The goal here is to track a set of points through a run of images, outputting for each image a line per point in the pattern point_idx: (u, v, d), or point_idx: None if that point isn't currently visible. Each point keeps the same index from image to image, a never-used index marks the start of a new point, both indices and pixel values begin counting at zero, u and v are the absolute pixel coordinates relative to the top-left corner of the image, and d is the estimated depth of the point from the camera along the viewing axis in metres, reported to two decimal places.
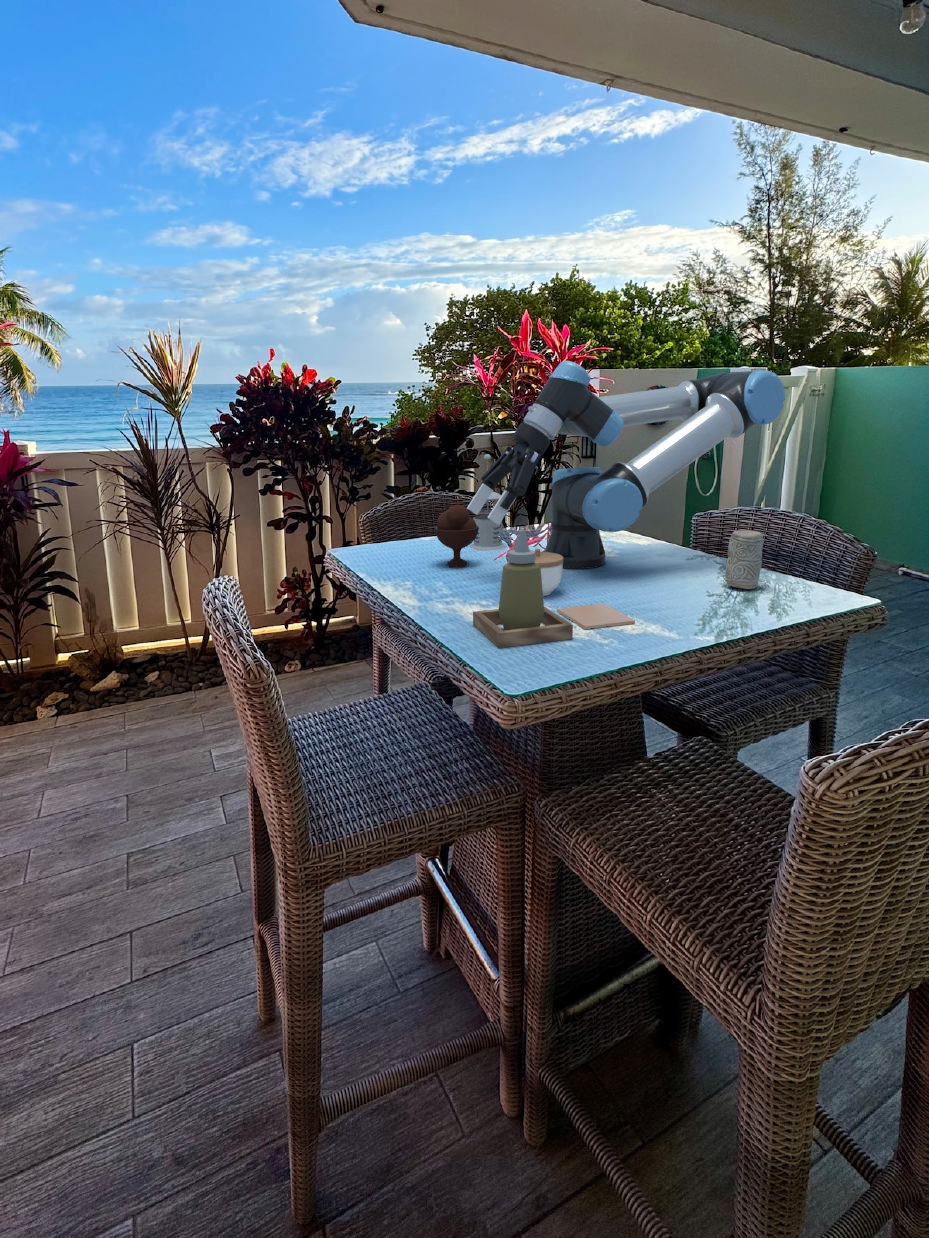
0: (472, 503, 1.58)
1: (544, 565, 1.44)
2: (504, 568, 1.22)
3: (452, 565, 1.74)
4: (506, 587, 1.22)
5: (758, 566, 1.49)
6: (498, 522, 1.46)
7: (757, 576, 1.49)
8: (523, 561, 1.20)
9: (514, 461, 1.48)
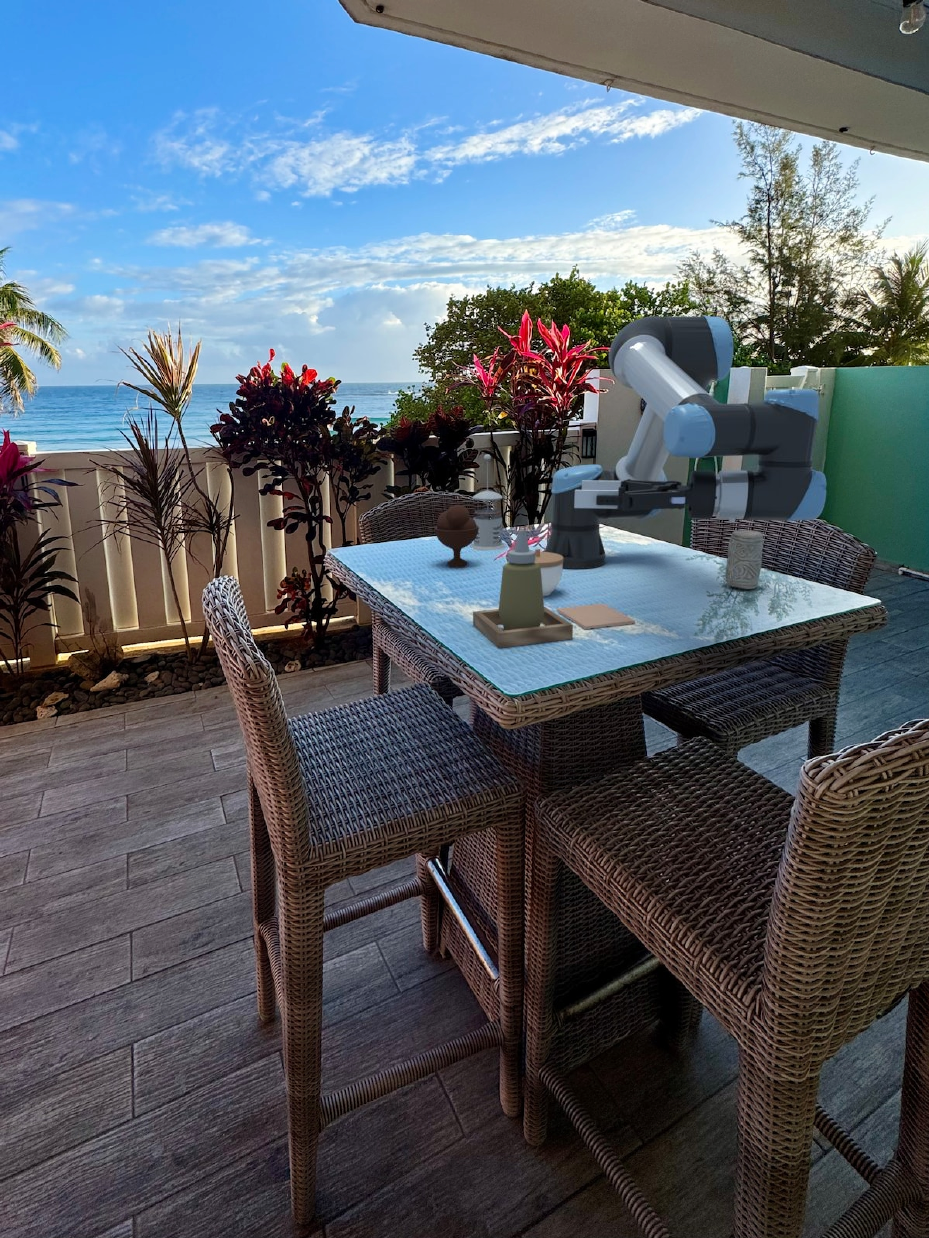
0: None
1: (544, 565, 1.44)
2: (504, 568, 1.22)
3: (452, 565, 1.74)
4: (506, 587, 1.22)
5: (758, 566, 1.49)
6: None
7: (757, 576, 1.49)
8: (523, 561, 1.20)
9: None
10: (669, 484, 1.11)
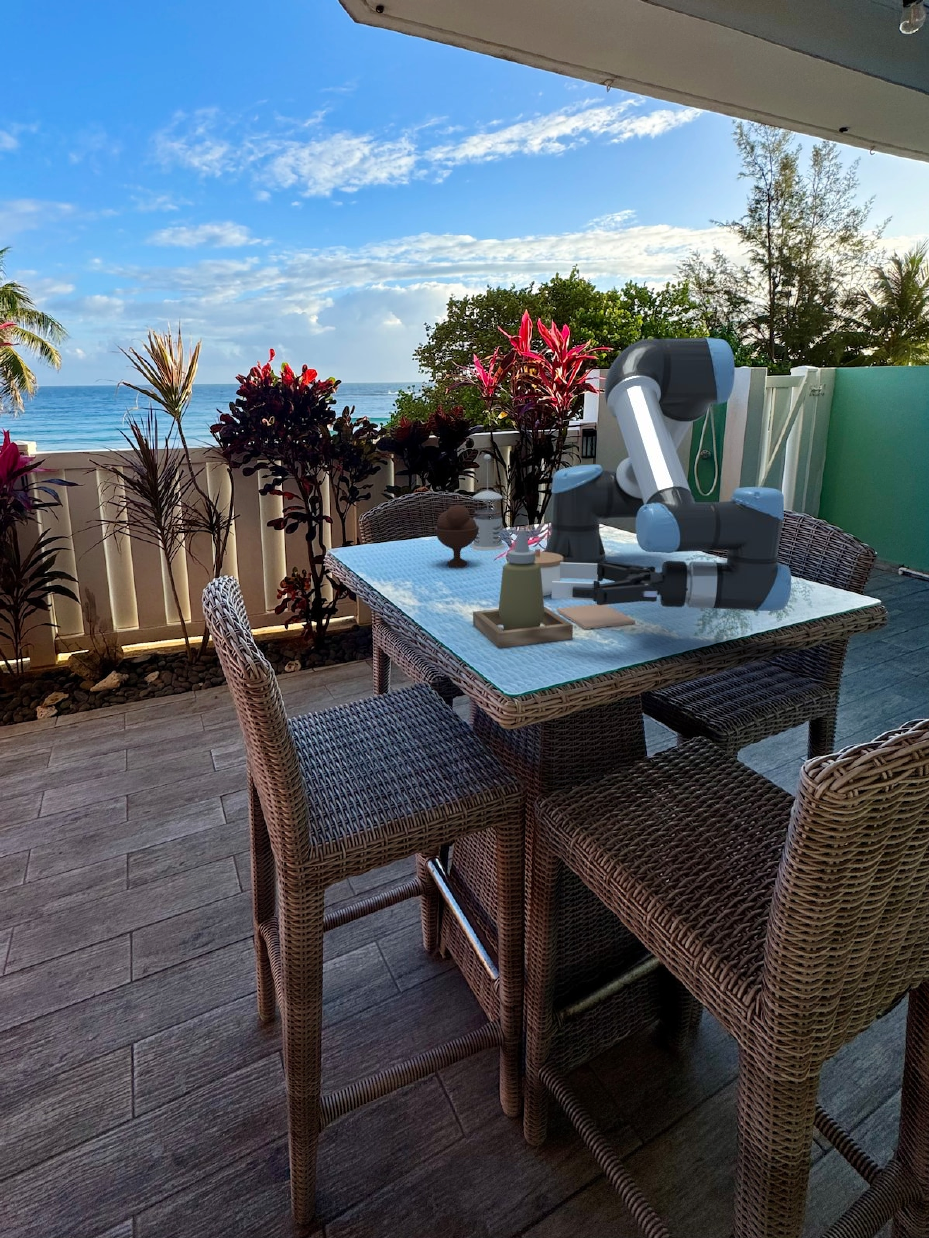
0: None
1: (544, 565, 1.44)
2: (504, 568, 1.22)
3: (452, 565, 1.74)
4: (506, 587, 1.22)
5: None
6: None
7: None
8: (523, 561, 1.20)
9: None
10: (642, 575, 1.16)
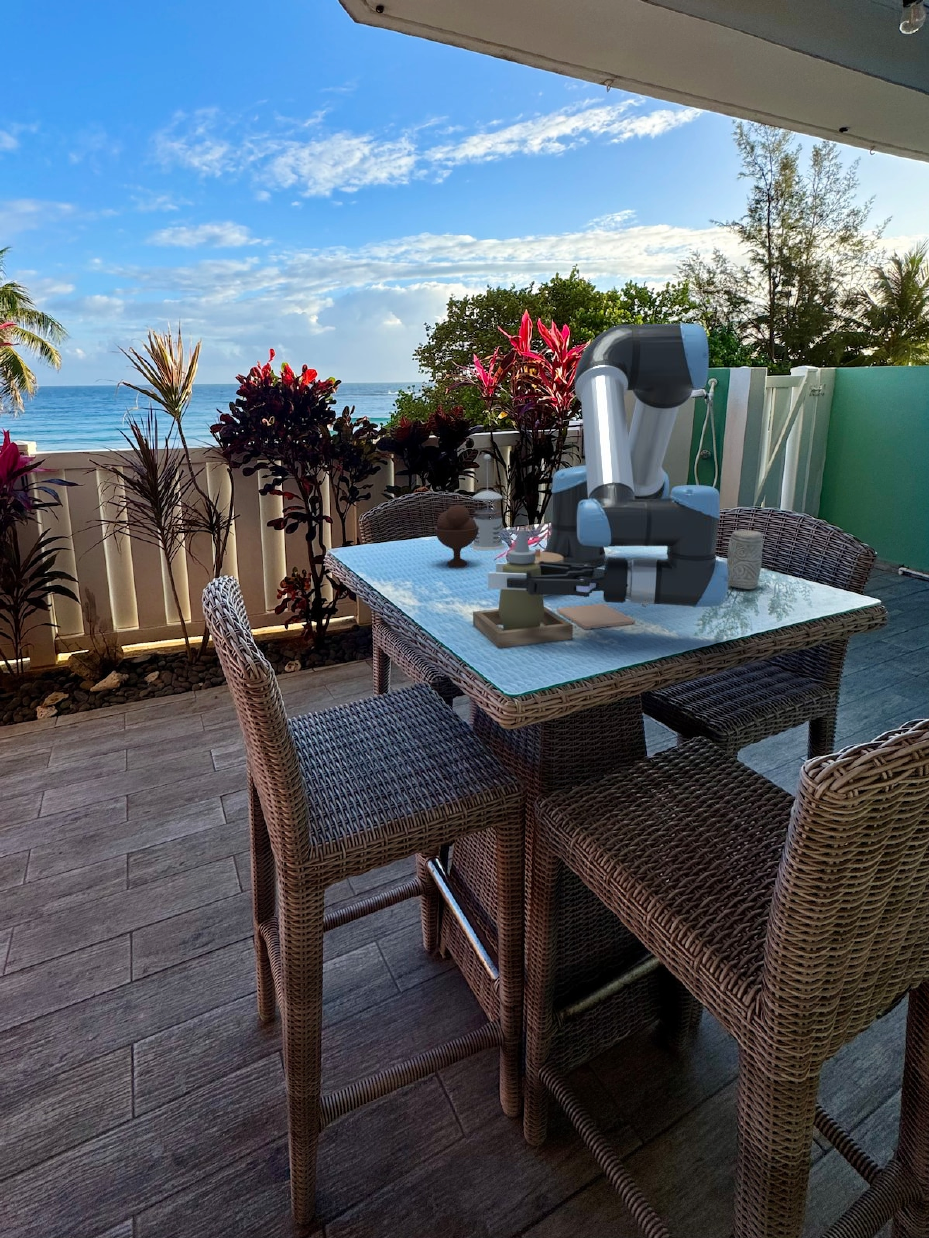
0: None
1: None
2: (504, 568, 1.22)
3: (452, 565, 1.74)
4: None
5: (758, 566, 1.49)
6: None
7: (757, 576, 1.49)
8: (523, 561, 1.20)
9: None
10: (583, 570, 1.19)
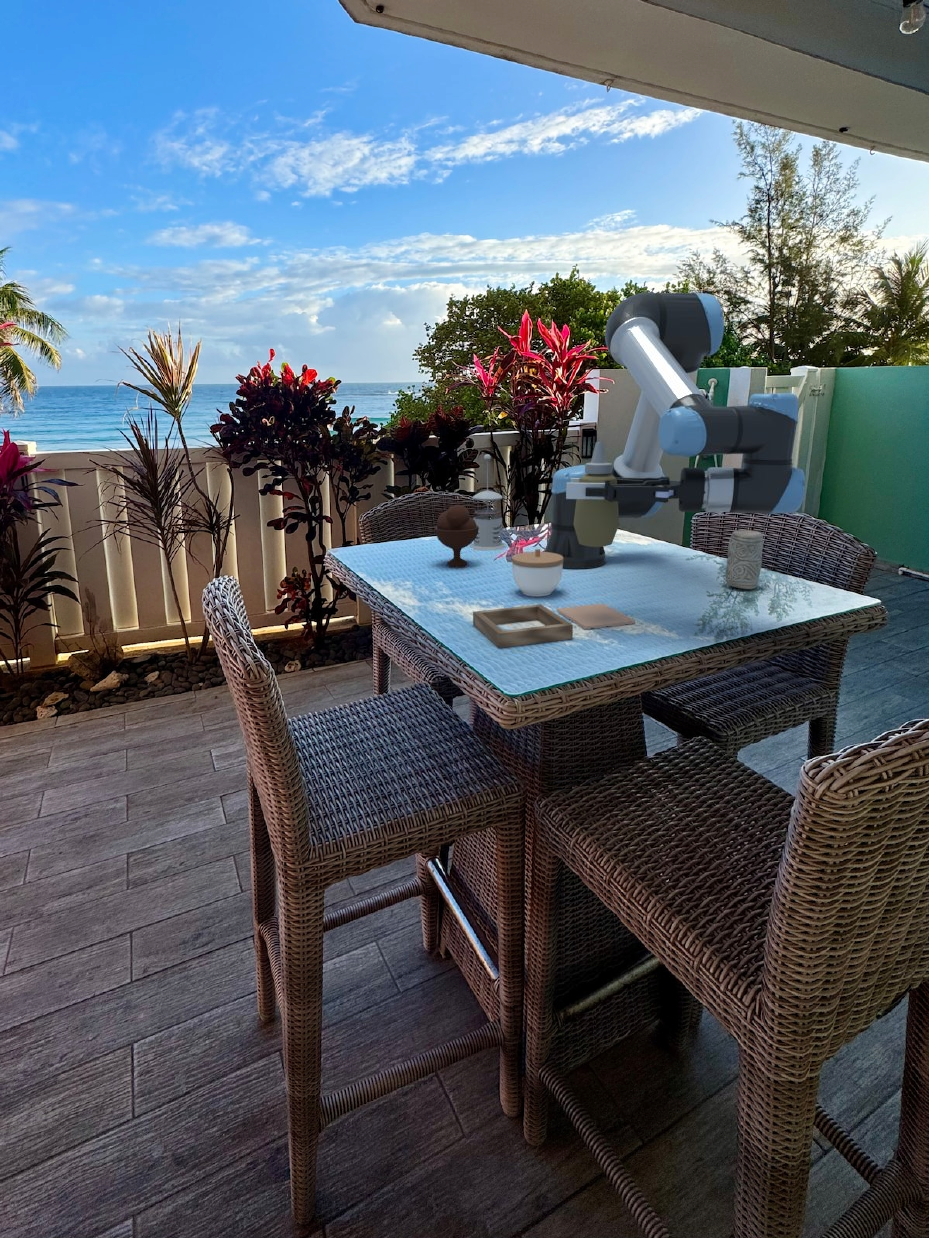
0: None
1: (544, 565, 1.44)
2: (581, 479, 1.25)
3: (452, 565, 1.74)
4: None
5: (758, 566, 1.49)
6: None
7: (757, 576, 1.49)
8: (601, 471, 1.23)
9: None
10: (660, 480, 1.22)
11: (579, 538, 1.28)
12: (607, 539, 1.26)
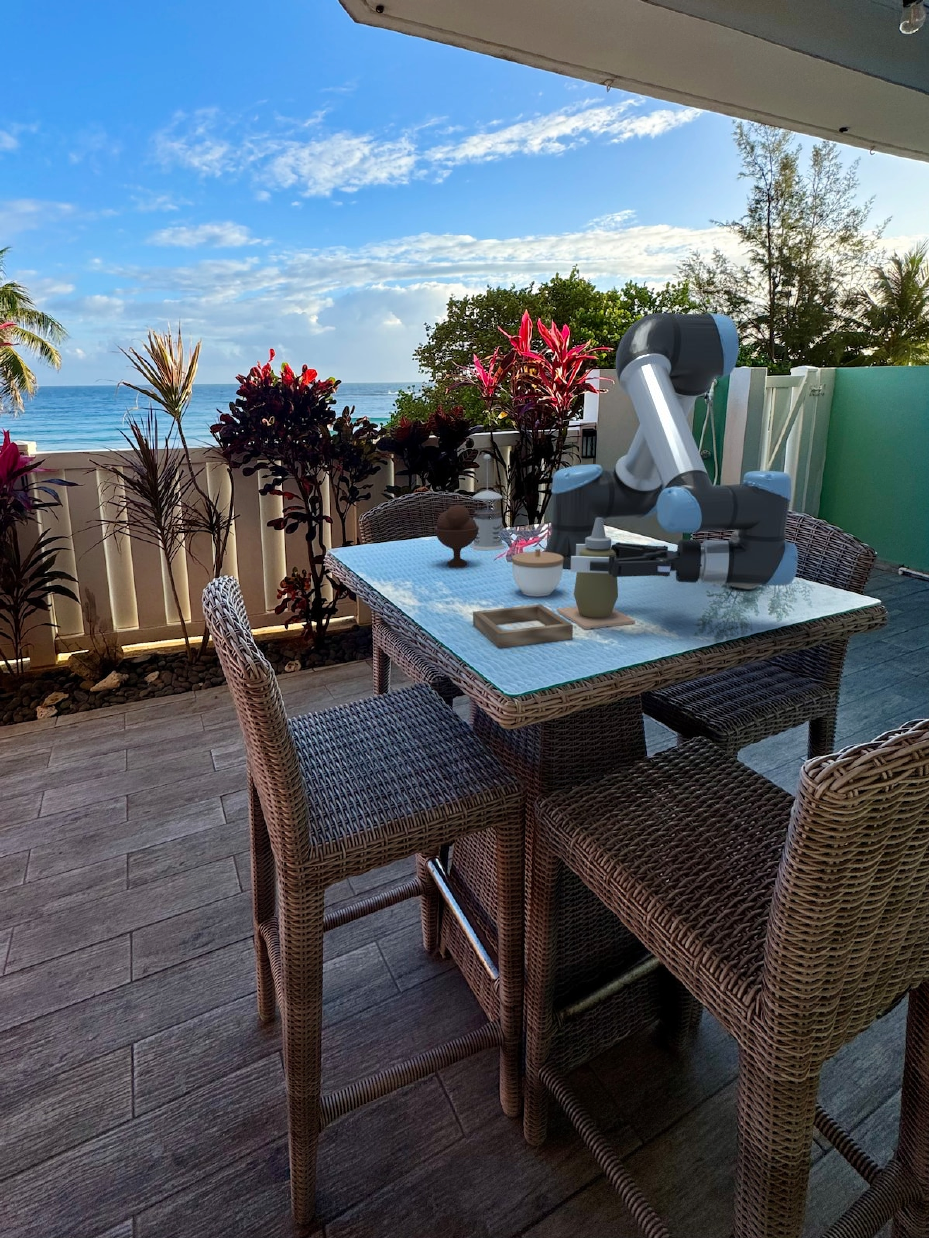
0: None
1: (544, 565, 1.44)
2: (581, 553, 1.29)
3: (452, 565, 1.74)
4: None
5: None
6: None
7: None
8: (601, 547, 1.27)
9: None
10: (659, 552, 1.25)
11: (579, 609, 1.32)
12: (607, 611, 1.30)
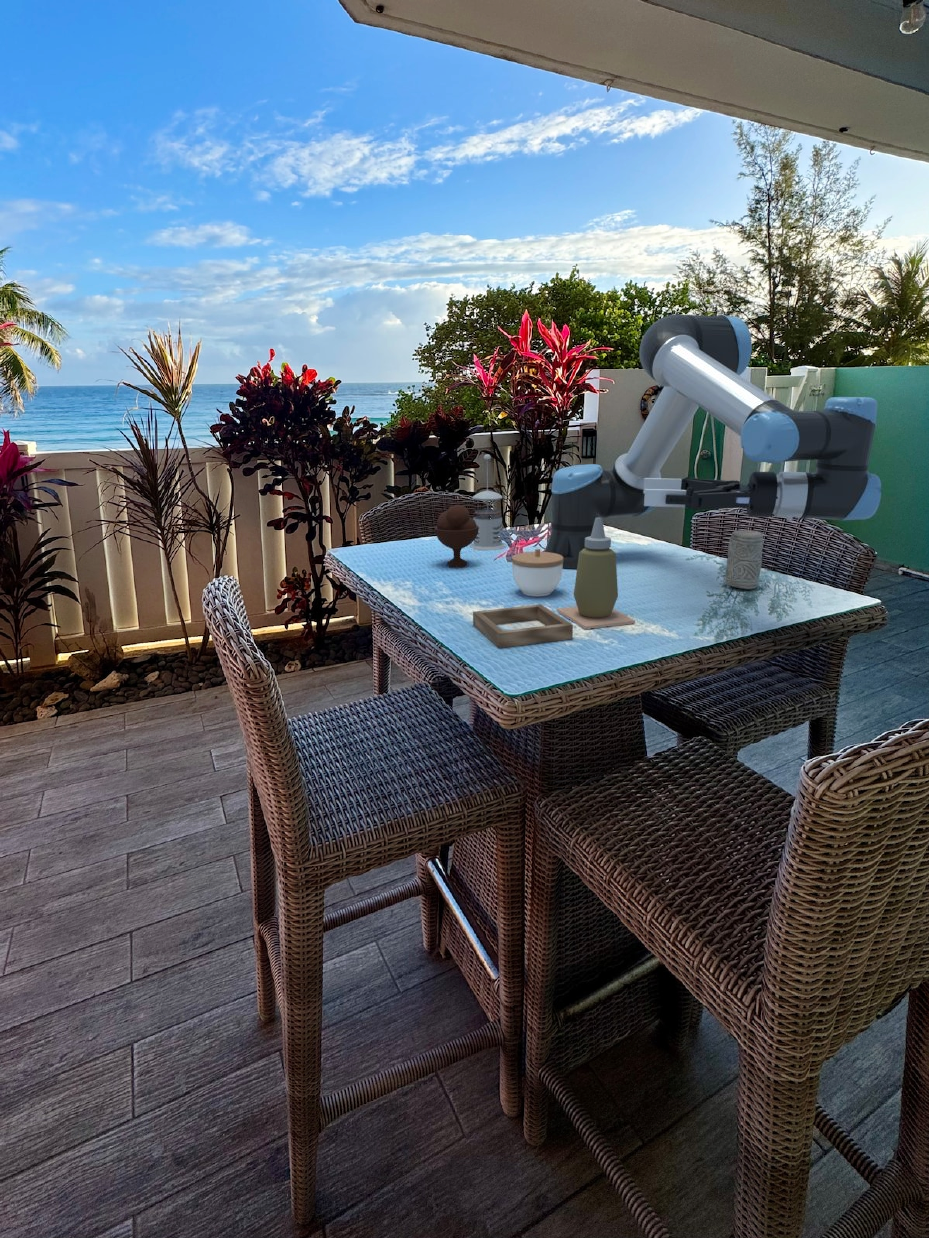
0: None
1: (544, 565, 1.44)
2: (581, 553, 1.29)
3: (452, 565, 1.74)
4: (583, 571, 1.29)
5: (758, 566, 1.49)
6: None
7: (757, 576, 1.49)
8: (600, 547, 1.27)
9: None
10: (732, 484, 1.19)
11: (579, 609, 1.32)
12: (607, 611, 1.30)
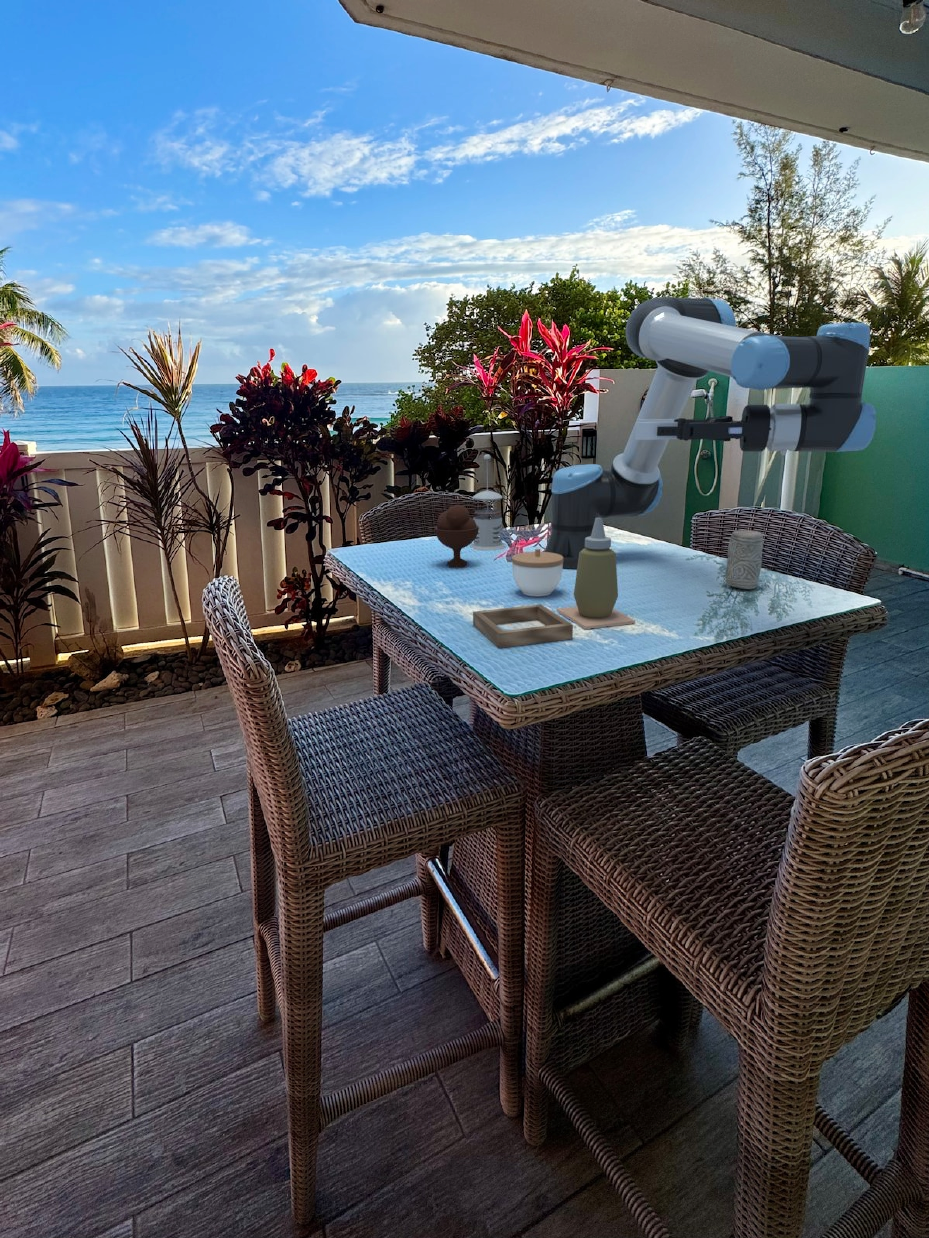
0: None
1: (544, 565, 1.44)
2: (581, 553, 1.29)
3: (452, 565, 1.74)
4: (583, 571, 1.29)
5: (758, 566, 1.49)
6: None
7: (757, 576, 1.49)
8: (600, 547, 1.27)
9: None
10: (725, 417, 1.17)
11: (579, 609, 1.32)
12: (607, 611, 1.30)
